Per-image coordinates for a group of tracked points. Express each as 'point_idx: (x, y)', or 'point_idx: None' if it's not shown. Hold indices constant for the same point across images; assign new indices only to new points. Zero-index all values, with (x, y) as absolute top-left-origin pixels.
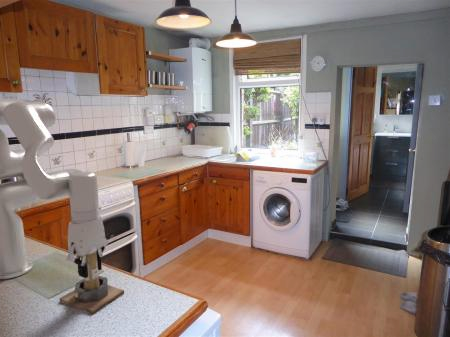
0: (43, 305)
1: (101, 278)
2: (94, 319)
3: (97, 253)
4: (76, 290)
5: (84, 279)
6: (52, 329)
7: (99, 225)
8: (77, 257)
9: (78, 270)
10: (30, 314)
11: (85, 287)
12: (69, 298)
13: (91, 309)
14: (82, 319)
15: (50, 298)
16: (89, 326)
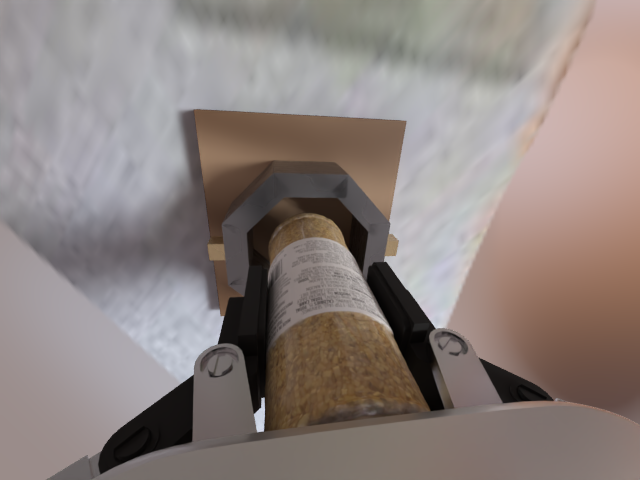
0: (118, 50)
1: (369, 257)
2: (207, 328)
3: (434, 396)
4: (223, 236)
5: (268, 275)
6: (69, 262)
7: None
8: (204, 438)
9: (224, 320)
10: (23, 61)
11: (270, 250)
12: (223, 163)
13: (224, 305)
14: (181, 300)
15: (183, 20)
16: (174, 342)
